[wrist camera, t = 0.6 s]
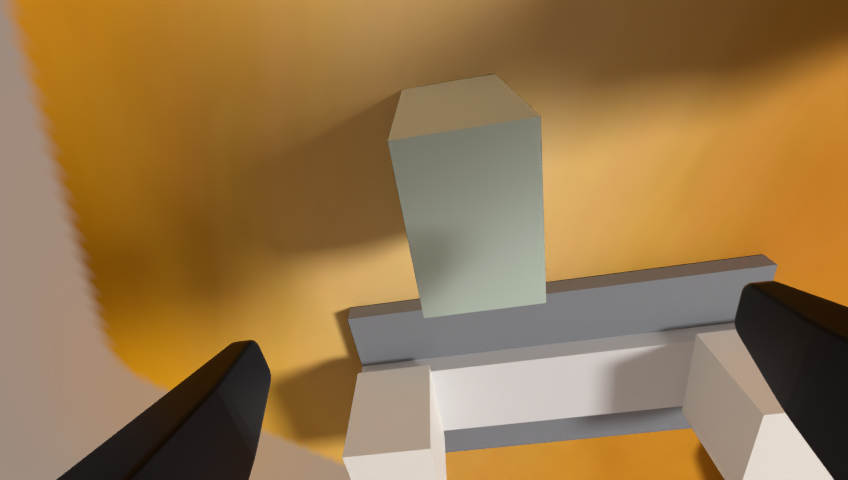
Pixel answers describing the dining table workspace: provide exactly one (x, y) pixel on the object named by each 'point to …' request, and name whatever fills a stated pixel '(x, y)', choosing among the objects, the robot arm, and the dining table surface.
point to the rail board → (572, 375)
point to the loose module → (471, 195)
